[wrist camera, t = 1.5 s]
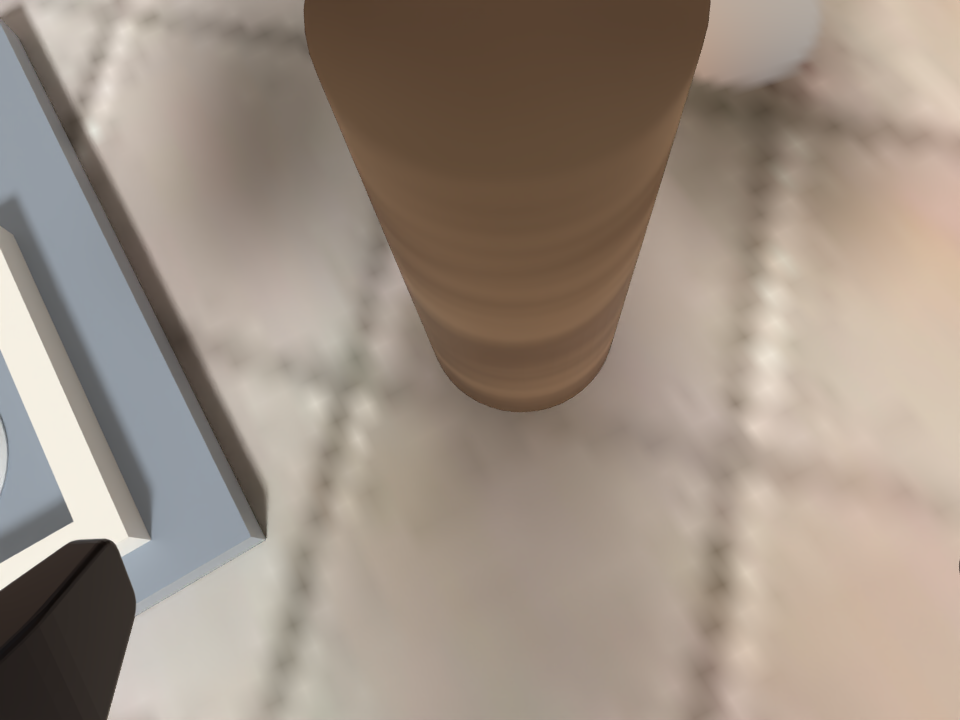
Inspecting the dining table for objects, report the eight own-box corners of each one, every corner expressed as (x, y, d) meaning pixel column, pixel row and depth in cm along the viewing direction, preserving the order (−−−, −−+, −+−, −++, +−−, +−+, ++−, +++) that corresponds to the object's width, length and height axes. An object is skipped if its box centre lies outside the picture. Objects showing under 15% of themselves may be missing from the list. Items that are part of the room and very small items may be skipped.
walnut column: (621, 407, 22) (733, 163, 9) (432, 416, 22) (299, 192, 10) (605, 232, 23) (687, -183, 11) (428, 243, 24) (307, -150, 11)
